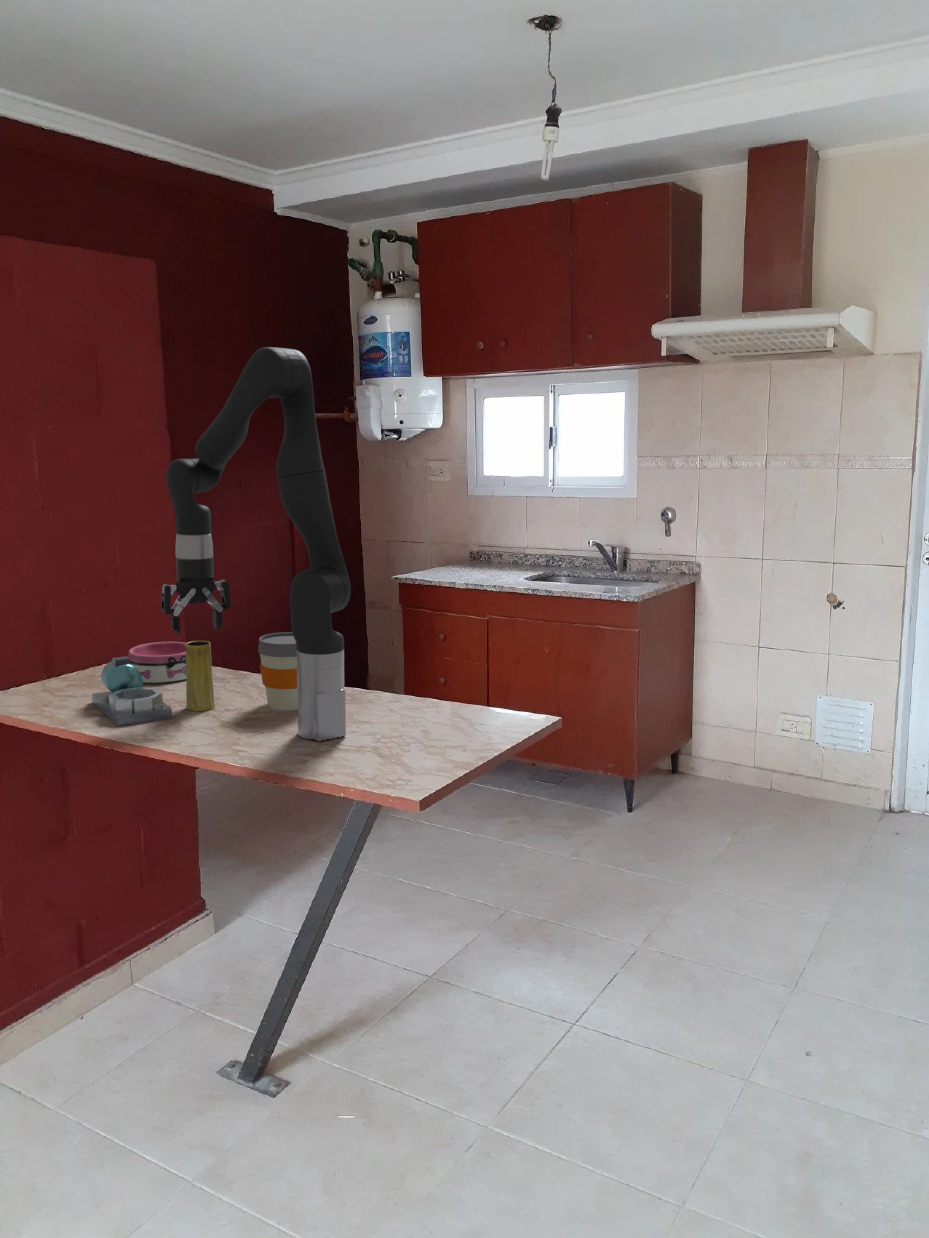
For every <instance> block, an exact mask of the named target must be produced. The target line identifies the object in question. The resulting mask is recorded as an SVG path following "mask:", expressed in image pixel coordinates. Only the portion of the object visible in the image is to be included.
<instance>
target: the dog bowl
mask: <svg viewBox="0 0 929 1238" xmlns="http://www.w3.org/2000/svg"><path fill="white" fill-rule="evenodd" d="M186 643H187V642H184V641H183V642H182V641H159V642H157V641H156V642H149V643H148V642H147V643H143V644H139V645H136V646H134V647H131V648H130V649H129V651H128V653H127V657H128V658H129V659H130V665H132V666H133V667H135V668H136V669H137V670H139V671H140V673H141V674H142V677H143V685H152V686H153V685H155V686H156V685H169V684H170V685H171V684H177V683H183V682H186V647H185V644H186Z"/></svg>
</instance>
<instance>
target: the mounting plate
mask: <svg viewBox="0 0 929 1238" xmlns="http://www.w3.org/2000/svg"><path fill="white" fill-rule="evenodd" d="M100 679H101V682H102V685H103V686H104V687H105V688H106V689H107V690H109V691H101V692H95V693H91V701H92V704H93V705H94V706H96V707H97V708H98V709H99V710H100V711H101V712H102V713H103V714H104V715H105V716H107V718H108V719H110V721H112V722H113V723H114V724H115V725H116V726H118V727H122V726H129V725H136V724H141V723H147V722H152V721H160V720H165V719H172V718H173V708H172V707H171V706H169V705H168V704H167V703H165V702H164V698H163V691H161V690H160V689H158V688H156V687H144V686H143V685H144V684H143V677H142V674H141V673H140V671H139V670H137V669H136V668H135V667H133V666H132V665H130V659H129V658H128V655H125V656H119V657H112V658H111V661H109V662H108V663H107V664H105V665H104V667H103V668H102V671H101V675H100Z"/></svg>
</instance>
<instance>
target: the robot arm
mask: <svg viewBox="0 0 929 1238" xmlns="http://www.w3.org/2000/svg"><path fill="white" fill-rule="evenodd" d="M312 374H313V373H312V370H311V367H310V363H309V362H308V359H307V357H306V356H305V355H304V353H302V352H301V351H300V350H297V349H294V348H284V347H273V346H267V347H261V348H259V349H257V350H256V351H255V352H253V354H252V355H251V357H250V358H249V359H248V361H247V363H246V365H245V366H244V368H243V369H242V371H241V373H240V376H239V377H238V380H237V382H236V383H235V385H234V387H233V388H232V391H231V392H230V394H229V396H228V398H227V400H226V402H225V404H224V406H223V407H222V409H221V410H220V411H219V413H218V415H217V416H216V417H215V419H213V421H212V422H211V424H210V425H208V427H207V429H206V430H205V431H204V432H203V434H202V435H201V436H200V437H199V438H198V440H197V442H196V444H195V447H194V451H195V455H196V457H197V458H178V459H174V460H172V461H171V462H170V464H168V466H167V469H166V473H165V484H166V487H167V491H168V494H169V496H170V500H171V504H172V507H173V510H174V514H175V530H176V536H175V537H176V538H175V551H174V554H175V563H176V564H175V565H176V566H175V568H176V582H175V584H166V583H163V584H161V587H160V588H161V589H160V590H161V591H160V593H161V594H160V597H161V598H160V600H161V601H160V611H161V612H163V613H164V614H166V615H169V616H170V629H171V630H172V631H173V632H174V633H175V634H181V616H180V614H181V612H182V611H183V609H184V608H186V606H187V605H188V604H189V605H194V604H197V603H200V604H205V603H206V602H207V603H208V604H209V606H211V608H212V609H213V611H212V627H213V629H214V630H220V628H221V627H222V626H223V612H224V610H226V609H227V610H228V609H230V608H231V595H230V583H229V581H227V580H225V579H220V580H219V581H216V580H214V578H215V577H214V576H215V574H214V573H215V572H214V545H213V538H212V537H213V536H212V521H211V520H212V515H211V510H210V508H209V507H208V506H206V505H204V504H198V502H197V500H196V497H195V494H197V493H198V494H199V493H200V494H201V493H207V492H210V491H211V490H213V489H214V488H215V487H216V486H217V485H218V483H219V482H220V480H221V477H222V475H223V472H224V471H225V467H226V465H227V463H228V461H230V460H231V459H232V457H233V456H234V455H235V454H236V452H237V451H238V450H239V449H240V448H241V446H242V445H243V444H244V441H245V439H246V438H247V435H248V431H249V425H250V420H251V417H252V415H253V414H254V412H255V411H256V410H257V409H258V408H259V407H260V405H262V404H263V403H264V402H265V401H267V400H268V399H269V398H272V399H280V403H281V407H282V413H283V421H284V431H283V432H284V433H283V437H282V442H281V445H280V448H279V452H278V455H277V460H276V466H275V468H276V469H275V471H276V480H277V485H278V489H279V495H280V499H281V503H282V507H283V508H284V510H285V512H286V514H287V516H288V517H289V518H290V520H291V522H292V523H293V525H294V527H296V530H297V531H298V532H299V534H300V535H301V537H302V539H303V542H304V545H305V546H306V547H305V548H306V550H307V554H308V560H309V565H310V569H305V570H303V571H301V572H298V573H297V574H296V575H295V576H294V577H293V579H292V581H291V585H290V589H289V611H290V622H291V625H290V626H291V632H292V633H293V636H294V639H295V641H296V649H297V650H296V651H297V705H298V710H297V731H298V732H297V734H298V736H299V737H301V738H303V739H305V740H306V739H307V740H311V739H315V740H314V741H316V740H317V741H316V742H323V741H322V740H324V741H326V740H325V739H329V740H334V739H338V738H337V737H340V736H345V737H346V736H347V735H346V734H347V730H346V728H347V726H346V724H347V723H346V721H347V719H346V716H347V715H346V711H347V710H346V690H345V637H344V636H343V635H344V634H342V633H340V632H338V631H335V630H334V629H333V623H332V614H333V613H336V612H339V611H341V610H343V609H344V608H345V607H347V605H348V603H349V602H350V600H351V599H350V598H351V594H352V593H351V592H352V590H351V589H352V587H351V581H350V578H349V573H348V570H347V566H346V563H345V561H344V559H345V558H344V556H343V553H342V550H341V545H340V542H339V537H338V534H337V529H336V524H335V519H334V515H333V514H334V513H333V509H332V505H331V500H330V493H329V492H330V491H329V486H328V481H327V475H326V470H325V466H324V461H323V456H322V451H321V444H320V443H321V442H320V438H319V432H318V425H317V419H316V407H315V395H314V385H313V377H312ZM216 589H217V590H218V591H220V592H219V594H220V596H219V597H220V603H219V602H218V600H217V599H216V597H214V595H213V593H214V591H215V590H216ZM175 591H176V593H177V594H178V595H177V598H176V600H175V601H174V604H173V605H172V603H171V602H172V601H171V600H172V596H173V594H174V593H175ZM171 605H172V607H171ZM333 738H334V739H333ZM340 738H341V737H340Z"/></svg>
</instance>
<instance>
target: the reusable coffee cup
mask: <svg viewBox="0 0 929 1238" xmlns="http://www.w3.org/2000/svg"><path fill="white" fill-rule="evenodd" d="M257 650H258V651H257V652H258V654H259V657H260V663H259V669H260V676H261V680H262V685H263V686H264V688H265V696H266V700H267V706H268V708H270V709H271V710H274V711H284V712H285V711H298V705H297V651H296V650H297V649H296V641H295V639H294V636H293V633H292V631H291V632H290V631H288V632H287V631H285V632H284V631H283V632H273V633H268V634H264V635H261V636H260V637H259V639H258V649H257Z"/></svg>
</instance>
